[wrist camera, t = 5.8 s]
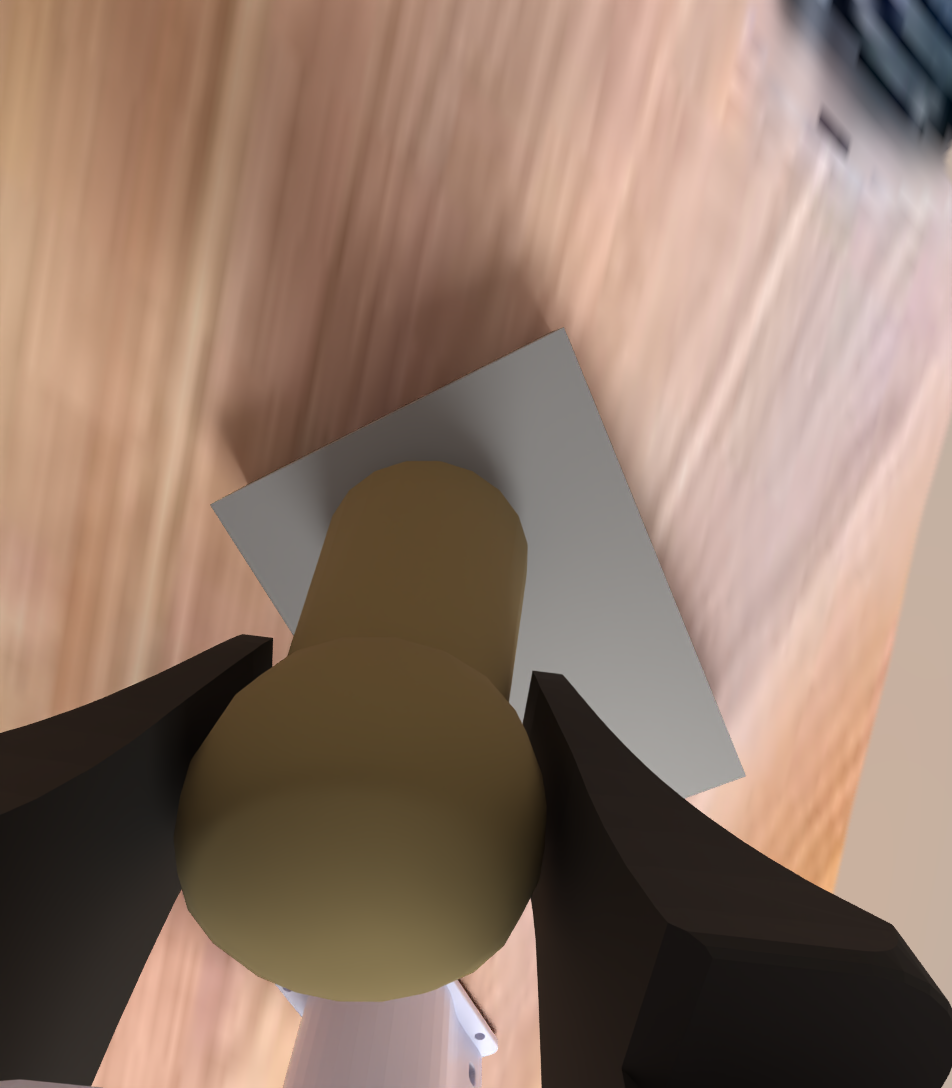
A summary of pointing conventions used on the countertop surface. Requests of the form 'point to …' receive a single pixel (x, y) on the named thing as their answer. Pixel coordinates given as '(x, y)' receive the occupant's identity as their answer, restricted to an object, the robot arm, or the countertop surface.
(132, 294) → the countertop surface
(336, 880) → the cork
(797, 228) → the countertop surface
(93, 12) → the countertop surface
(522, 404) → the gray flat panel
